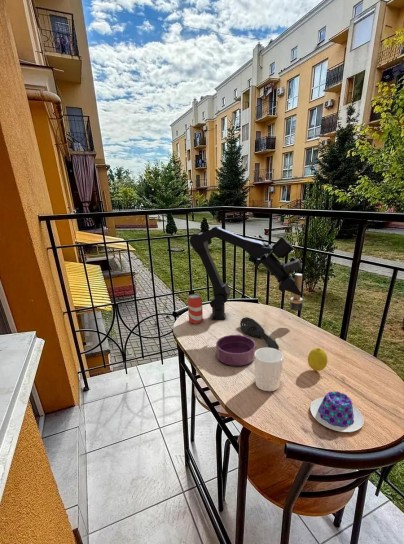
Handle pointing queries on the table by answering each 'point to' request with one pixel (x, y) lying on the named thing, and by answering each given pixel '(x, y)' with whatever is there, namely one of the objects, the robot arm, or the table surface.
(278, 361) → the white cup
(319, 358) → the lemon
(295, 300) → the dish brush
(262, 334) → the hairbrush
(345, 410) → the blue patterned hat
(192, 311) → the beverage can
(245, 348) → the bowl
